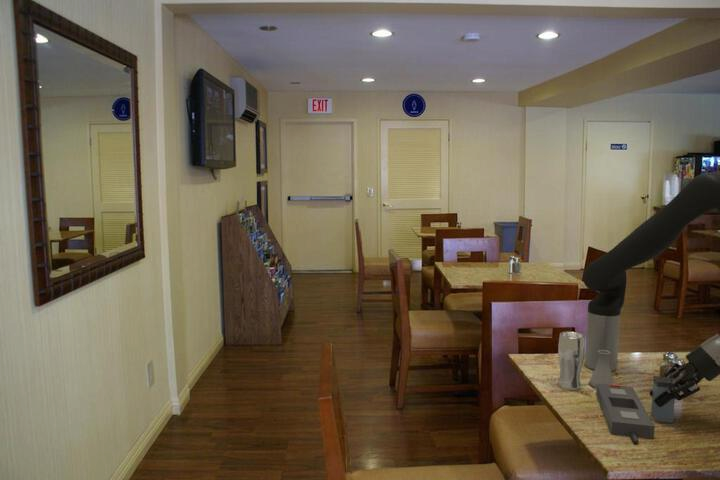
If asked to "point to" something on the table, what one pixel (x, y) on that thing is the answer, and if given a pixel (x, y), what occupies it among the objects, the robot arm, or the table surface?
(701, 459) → the table surface
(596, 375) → the flask
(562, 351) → the beer glass
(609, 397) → the power strip
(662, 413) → the plug
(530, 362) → the table surface
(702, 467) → the table surface
